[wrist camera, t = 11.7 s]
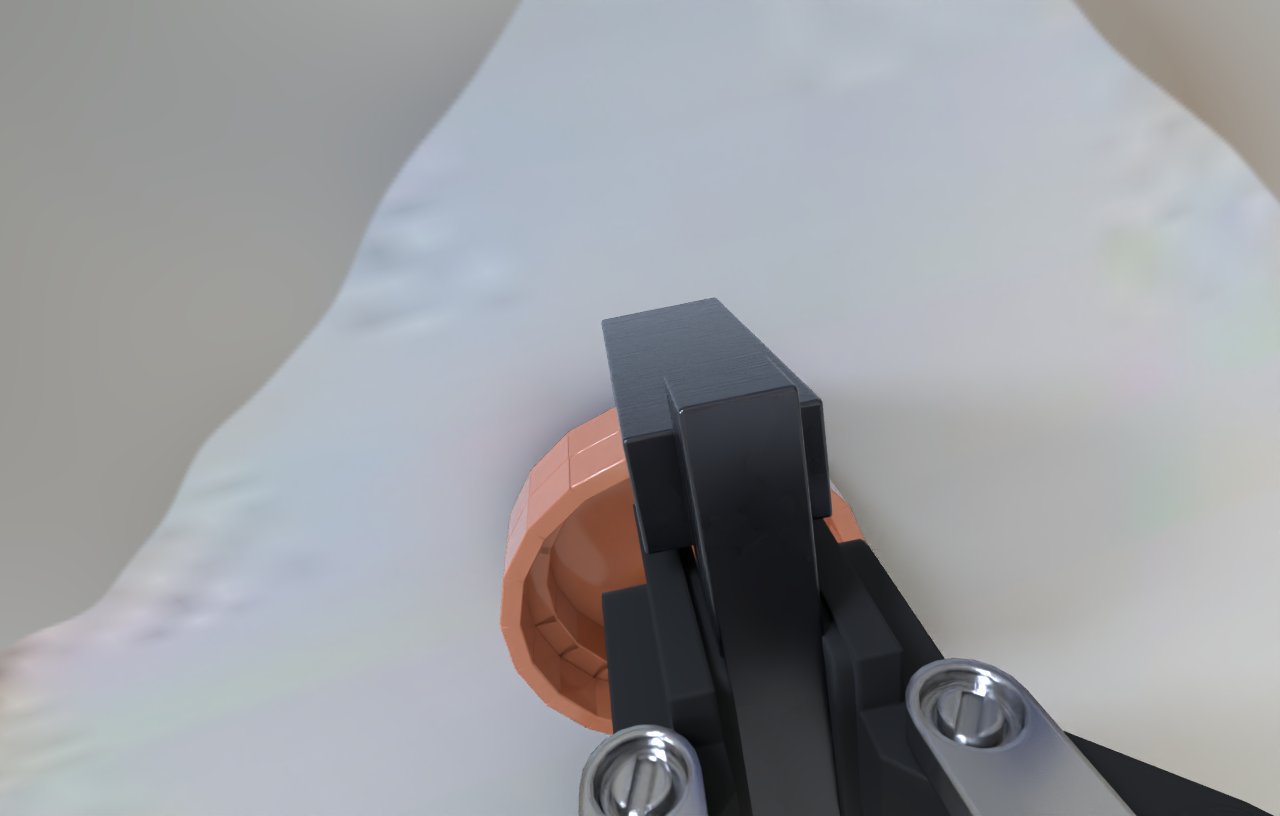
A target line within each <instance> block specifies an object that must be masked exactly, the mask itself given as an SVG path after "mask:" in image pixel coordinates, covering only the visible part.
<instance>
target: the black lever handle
mask: <svg viewBox="0 0 1280 816" xmlns="http://www.w3.org/2000/svg"><path fill="white" fill-rule="evenodd" d="M601 324H602V329H603V335H604V341H605V347H606V352H607V358H608V364H609V370H610V375H611V381H612V387H613V393H614V398H615V404H616V410H617V416H618V421H619V427H620V433H621V439H622V444H623V449H624V454H625V459H626V463H627V468H628V473H629V478H630V482H631V487H632V492H633V497H634V502H635V506H636V511H637V516H638V521H639V526H640V530H641V535H642V540H643V545H644V550H645V552H646V553H647V554H654V553H659V552H664V551H669V550H674V549H678V548H683V547H688V546H694V551H695V557H696V563H697V568H698V574H699V579H700V585H701V591H702V594H703V598H704V601H705V605H706V608H707V612H708V615H709V619H710V622H711V626H712V629H713V633H714V636H715V640H716V643H717V647H718V650H719V654H720V656H721V657H722V658H724V659H725V662H726V666H727V670H728V673H729V677H730V681H731V686H732V690H733V695H734V700H735V706H736V712H737V718H738V725H739V731H740V737H741V743H742V750H743V756H744V762H745V769H746V775H747V781H748V787H749V794H750V800H751V806H752V813H753V816H841V809H840V799H839V790H838V781H837V772H836V763H835V753H834V744H833V735H832V726H831V717H830V707H829V698H828V689H827V680H826V671H825V662H824V652H823V643H822V637H823V636H824V628H823V618H822V609H821V599H820V590H819V581H818V571H817V562H816V552H815V543H814V533H813V524H812V520H817V519H822V518H827V517H830V516H832V513H833V510H832V500H831V489H830V478H829V467H828V457H827V446H826V435H825V424H824V414H823V403H822V401H821V399H820V398H819V397H818V396H817V395H816V394H815V393H814V392H813V391H812V390H811V389H810V388H809V387H808V386H807V385H805V384H804V383H803V382H802V381H801V380H800V379H799V378H798V377H797V376H796V375H795V374H794V373H793V372H792V371H791V370H790V369H789V368H788V367H787V366H786V365H785V364H784V363H783V362H782V361H781V360H780V359H779V358H778V357H777V356H775V355H774V354H773V353H772V352H771V351H770V350H769V349H768V348H767V347H766V346H765V345H764V344H763V343H762V342H761V341H760V340H759V339H758V338H757V337H756V336H755V335H754V334H753V333H752V332H751V331H750V330H749V329H748V328H747V327H745V326H744V325H743V324H742V323H741V322H740V321H739V320H738V319H737V318H736V317H735V316H734V315H733V314H732V313H731V312H730V311H729V310H728V309H727V308H726V307H725V306H724V305H723V304H722V303H721V302H720V301H719V300H718V299H717V298H710V299H705V300H700V301H695V302H690V303H685V304H680V305H675V306H670V307H665V308H660V309H655V310H650V311H645V312H640V313H635V314H630V315H625V316H620V317H615V318H610V319H605V320H603V321H602V323H601Z"/></svg>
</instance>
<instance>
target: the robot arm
mask: <svg viewBox="0 0 1280 816" xmlns="http://www.w3.org/2000/svg"><path fill="white" fill-rule="evenodd" d="M633 510H634V515H635V521H636V526H637V532H638V538H639V543H640V549H641V554H642V560H643V566H644V571H645V577H646V582H647V584H643V585H638V586H633V587H628V588H624V589H619V590H614V591H609V592H605V593H602V610H603V621H604V633H605V645H606V657H607V668H608V680H609V692H610V703H611V715H612V727H613V735H612V736H610V737H608V738H607V739H605V740H604V741H603V742H602V743H601V744H600V745H599V746H598V747H597V748H596V749H595V750H594V751H593V753H592V754H591V756H590V758H589V759H588V761H587V763H586V765H585V767H584V769H583V773H582V778H581V783H580V793H579V816H753V813H752V806H751V800H750V794H749V787H748V781H747V775H746V769H745V762H744V756H743V750H742V743H741V737H740V731H739V725H738V718H737V712H736V706H735V700H734V695H733V690H732V686H731V681H730V677H729V673H728V670H727V666H726V662H725V659H724V658H722V657H721V656H720V654H719V650H718V647H717V643H716V640H715V636H714V633H713V629H712V626H711V622H710V619H709V615H708V612H707V608H706V605H705V601H704V598H703V594H702V591H701V585H700V579H699V574H698V568H697V563H696V559H695V556H694V552H693V549H692V546H688V547H683V548H678V549H674V550H669V551H664V552H659V553H654V554H647V553H646V552H645V550H644V545H643V540H642V535H641V530H640V526H639V521H638V516H637V511H636V506H635V504H633ZM812 524H813V533H814V543H815V552H816V562H817V571H818V581H819V590H820V599H821V609H822V618H823V628H824V636H823V637H822V643H823V652H824V662H825V671H826V680H827V689H828V698H829V707H830V717H831V726H832V735H833V744H834V753H835V763H836V772H837V781H838V790H839V799H840V809H841V816H1273V815H1271V814H1269V813H1267V812H1265V811H1263V810H1261V809H1259V808H1257V807H1255V806H1253V805H1251V804H1249V803H1247V802H1244V801H1242V800H1239V799H1237V798H1234V797H1232V796H1229V795H1226V794H1224V793H1221V792H1219V791H1216V790H1214V789H1211V788H1209V787H1206V786H1203V785H1201V784H1198V783H1196V782H1193V781H1191V780H1188V779H1185V778H1183V777H1180V776H1178V775H1175V774H1173V773H1170V772H1168V771H1165V770H1162V769H1160V768H1157V767H1155V766H1152V765H1150V764H1147V763H1144V762H1142V761H1139V760H1137V759H1134V758H1132V757H1129V756H1127V755H1124V754H1121V753H1119V752H1116V751H1114V750H1111V749H1109V748H1106V747H1103V746H1101V745H1098V744H1096V743H1093V742H1091V741H1088V740H1085V739H1083V738H1080V737H1078V736H1075V735H1073V734H1070V733H1068V732H1065V731H1062V729H1061V728H1060V727H1059V726H1058V725H1057V724H1056V723H1055V721H1054V720H1053V719H1052V718H1051V717H1050V716H1049V714H1048V713H1047V712H1046V711H1045V710H1044V709H1043V708H1042V706H1041V705H1040V704H1039V703H1038V702H1037V701H1036V699H1035V698H1034V697H1033V696H1032V695H1031V694H1030V693H1029V691H1028V690H1027V689H1026V688H1025V687H1023V686H1022V685H1021V684H1020V683H1019V682H1018V681H1017V680H1016V679H1014V678H1013V677H1012V676H1011V675H1009V674H1007V673H1005V672H1003V671H1002V670H1000V669H998V668H996V667H994V666H992V665H989V664H985V663H982V662H979V661H976V660H969V659H959V658H951V659H945V658H944V657H943V655H942V654H941V652H940V651H939V650H938V648H937V647H936V645H935V644H934V642H933V641H932V639H931V638H930V636H929V635H928V633H927V632H926V630H925V629H924V627H923V626H922V624H921V623H920V621H919V620H918V618H917V617H916V615H915V614H914V612H913V611H912V609H911V608H910V607H909V605H908V604H907V602H906V601H905V599H904V598H903V596H902V595H901V593H900V592H899V590H898V589H897V587H896V586H895V584H894V583H893V581H892V580H891V578H890V577H889V575H888V574H887V572H886V571H885V569H884V568H883V566H882V565H881V564H880V562H879V561H878V559H877V558H876V556H875V555H874V553H873V552H872V550H871V549H870V547H869V546H868V545H867V544H866V542H865V541H864V540H862V539H855V540H851V541H846V542H841V543H838V542H837V540H836V539H835V537H834V536H833V534H832V532H831V531H830V529H829V527H828V526H827V524H826V522H825V521H824V519H823V518H822V519H817V520H812Z"/></svg>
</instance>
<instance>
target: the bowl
mask: <svg viewBox="0 0 1280 816" xmlns="http://www.w3.org/2000/svg"><path fill="white" fill-rule="evenodd" d="M830 489H831V500H832V510H833V513H832V516H830V517H827V518H823V519H824V521H825V522H826V524H827V526H828V527H829V529H830V531H831V532H832V534H833V536H834V537H835V539H836V540H837V542H838V543H841V542H846V541H851V540H855V539H862V540H864V541H865V542H866V540H865V538H864V536H863V534H862V532H861V530H860V528H859V526H858V523H857V521H856V519H855V517H854V515H853V513H852V511H851V509H850V507H849V505H848V503H847V502H846V501H845V499H844V498H843V496H842V495H841V493H840V492H839V491H838V489H837V488H836V486H835V485H834V483H833V482H832V481H831V479H830ZM633 504H635V502H634V497H633V492H632V487H631V482H630V478H629V473H628V468H627V463H626V459H625V454H624V449H623V444H622V439H621V433H620V427H619V421H618V416H617V410H616V407H614V408H612V409H610V410H608V411H606V412H604V413H603V414H601V415H599V416H597V417H595V418H593V419H591V420H589V421H588V422H586V423H584V424H582V425H580V426H578V427H576V428H575V429H573V430H571V431H569V432H568V433H567V434H566V435H565V436H564V437H563V438H562V439H561V440H560V441H559V442H558V443H557V444H556V445H555V446H554V447H553V448H552V449H551V450H550V451H549V452H548V453H547V454H546V455H545V456H544V457H543V458H542V459H541V460H540V461H539V462H538V463H537V464H536V465H535V466H534V467H533V468H532V470H531V471H530V473H529V475H528V477H527V479H526V481H525V483H524V486H523V488H522V490H521V492H520V494H519V496H518V498H517V500H516V503H515V505H514V507H513V509H512V511H511V515H510V521H509V530H508V538H507V547H506V556H505V565H504V574H503V585H502V600H501V614H500V628H501V631H502V634H503V637H504V639H505V642H506V645H507V648H508V651H509V654H510V657H511V659H512V662H513V665H514V668H515V669H516V671H517V672H518V674H519V675H520V676H521V677H522V678H523V679H524V680H525V681H526V683H527V684H528V685H529V686H530V687H531V688H532V689H533V691H534V692H535V693H536V694H537V695H538V696H539V697H540V699H541V700H542V701H543V702H544V703H545V704H547V706H549V707H551V708H552V709H554V710H556V711H558V712H559V713H561V714H563V715H564V716H566V717H568V718H570V719H571V720H573V721H575V722H577V723H578V724H580V725H582V726H584V727H585V728H588V729H591V730H595V731H599V732H603V733H607V734H611V735H613V727H612V715H611V703H610V692H609V680H608V668H607V657H606V645H605V633H604V621H603V610H602V593H605V592H609V591H614V590H619V589H624V588H628V587H633V586H638V585H643V584H647V582H646V577H645V571H644V566H643V560H642V554H641V549H640V543H639V538H638V532H637V526H636V521H635V515H634V510H633ZM866 544H867V542H866ZM692 549H693V552H694V556H695V551H694V546H692ZM695 559H696V557H695Z"/></svg>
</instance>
